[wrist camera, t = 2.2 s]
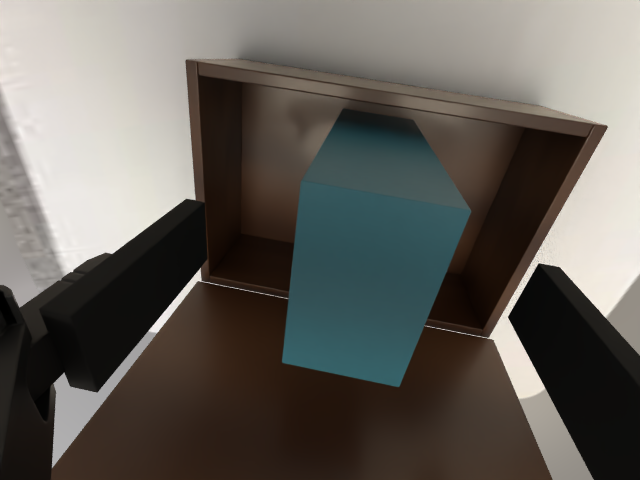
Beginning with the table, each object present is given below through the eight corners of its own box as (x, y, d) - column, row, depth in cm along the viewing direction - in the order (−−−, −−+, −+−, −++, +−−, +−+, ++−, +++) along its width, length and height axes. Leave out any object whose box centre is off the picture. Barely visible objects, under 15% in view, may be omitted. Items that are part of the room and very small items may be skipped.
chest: (236, 58, 21) (184, 59, 15) (540, 105, 20) (609, 126, 14) (236, 234, 27) (201, 281, 22) (463, 277, 26) (488, 338, 21)
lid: (-34, 577, 9) (48, 638, 13) (674, 764, 8) (530, 769, 12) (197, 280, 21) (204, 359, 25) (493, 339, 20) (451, 412, 24)
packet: (342, 108, 21) (300, 180, 9) (413, 119, 20) (472, 210, 8) (326, 212, 25) (281, 363, 12) (386, 223, 24) (399, 387, 12)
